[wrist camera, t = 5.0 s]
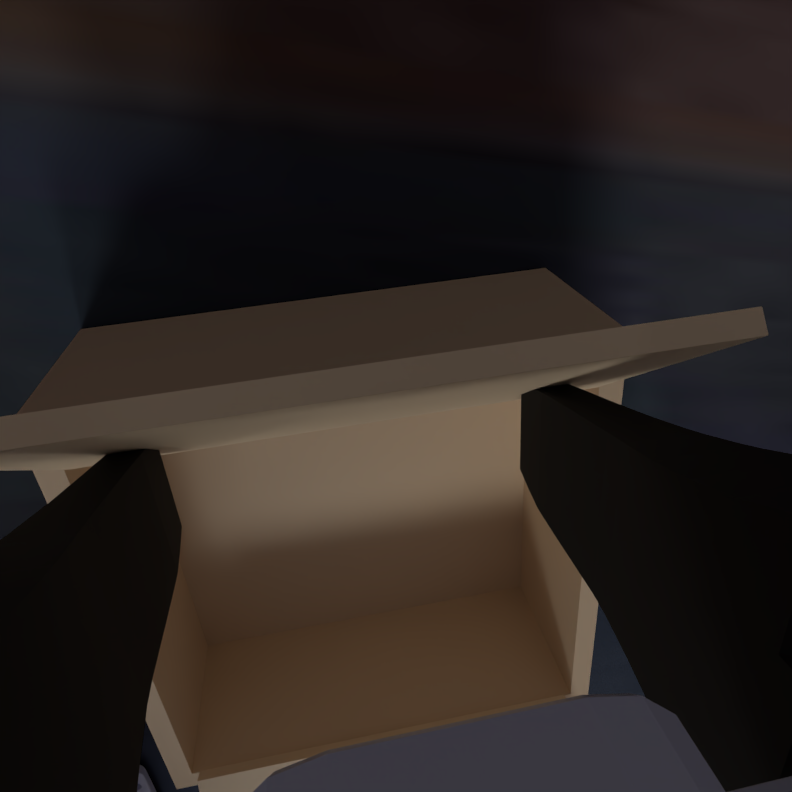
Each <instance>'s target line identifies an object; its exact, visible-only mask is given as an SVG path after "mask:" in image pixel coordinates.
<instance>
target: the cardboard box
mask: <svg viewBox="0 0 792 792" xmlns="http://www.w3.org/2000/svg"><path fill="white" fill-rule="evenodd" d="M617 327H623V326H621V325H620V324H619V323H617V322H616V321H615V320H614V319H612V318H611V317H610V316H608V315H607V314H606V313H604V312H603V311H602V310H600V309H599V308H598V307H596V306H595V305H594V304H592V303H591V302H590V301H589V300H587V299H586V298H585V297H583V296H582V295H581V294H579V293H578V292H577V291H575V290H574V289H573V288H571V287H570V286H569V285H567V284H566V283H565V282H563V281H562V280H561V279H560V278H558V277H557V276H556V275H554V274H553V273H552V272H550V271H549V270H548V269H546V268H540V269H532V270H525V271H517V272H510V273H502V274H495V275H487V276H479V277H472V278H464V279H457V280H449V281H442V282H434V283H426V284H419V285H411V286H404V287H396V288H388V289H381V290H373V291H366V292H358V293H351V294H343V295H335V296H328V297H320V298H313V299H305V300H298V301H290V302H282V303H275V304H267V305H260V306H252V307H244V308H237V309H229V310H222V311H214V312H207V313H199V314H191V315H184V316H176V317H169V318H161V319H153V320H146V321H138V322H131V323H123V324H116V325H108V326H100V327H93V328H85V329H81V330H80V331H79V332H78V333H77V335H76V336H75V337H74V339H73V340H72V341H71V343H70V344H69V345H68V347H67V348H66V349H65V351H64V352H63V353H62V355H61V356H60V357H59V359H58V360H57V361H56V363H55V364H54V365H53V367H52V368H51V369H50V371H49V372H48V373H47V375H46V376H45V377H44V378H43V380H42V381H41V382H40V384H39V385H38V386H37V388H36V389H35V390H34V392H33V393H32V394H31V396H30V397H29V398H28V400H27V401H26V402H25V404H24V405H23V406H22V408H21V409H20V410H19V412H18V413H17V414H22V413H29V412H36V411H43V410H50V409H57V408H64V407H71V406H78V405H85V404H92V403H98V402H105V401H112V400H119V399H126V398H133V397H140V396H147V395H154V394H161V393H168V392H174V391H181V390H188V389H195V388H202V387H209V386H216V385H223V384H230V383H237V382H244V381H251V380H257V379H264V378H271V377H278V376H285V375H292V374H299V373H306V372H313V371H320V370H327V369H333V368H340V367H347V366H354V365H361V364H368V363H375V362H382V361H389V360H396V359H403V358H409V357H416V356H423V355H430V354H437V353H444V352H451V351H458V350H465V349H472V348H479V347H485V346H492V345H499V344H506V343H513V342H520V341H527V340H534V339H541V338H548V337H555V336H561V335H568V334H575V333H582V332H589V331H596V330H603V329H610V328H617ZM623 385H624V379H623V380H620V381H617V382H613V383H610V384H607V385H603V386H600V387H597V388H591V389H585V391H588V392H590V393H593V394H595V395H597V396H600V397H602V398H605V399H607V400H610V401H612V402H615V403H617V404H620V405H621V402H622V393H623ZM520 436H521V399H520V400H514V401H508V402H501V403H495V404H488V405H482V406H475V407H469V408H463V409H456V410H450V411H443V412H437V413H430V414H424V415H417V416H411V417H405V418H398V419H392V420H385V421H379V422H372V423H366V424H359V425H353V426H347V427H340V428H334V429H327V430H321V431H314V432H308V433H301V434H295V435H289V436H282V437H276V438H269V439H263V440H256V441H250V442H243V443H237V444H231V445H224V446H218V447H211V448H205V449H198V450H192V451H186V452H179V453H173V454H166V455H161V458H162V461H163V464H164V468H165V471H166V474H167V478H168V481H169V484H170V488H171V491H172V494H173V498H174V501H175V505H176V508H177V511H178V515H179V518H180V521H181V525H182V532H181V546H180V557H179V567H178V574H177V579H176V583H175V588H174V592H173V596H172V600H171V605H170V609H169V613H168V617H167V621H166V625H165V629H164V634H163V638H162V642H161V646H160V650H159V654H158V658H157V662H156V667H155V671H154V675H153V679H152V684H151V689H150V694H149V699H148V704H147V712H146V719H145V720H146V722H147V725H148V727H149V729H150V731H151V734H152V736H153V738H154V740H155V742H156V745H157V747H158V749H159V751H160V753H161V756H162V758H163V760H164V762H165V764H166V767H167V769H168V771H169V773H170V776H171V778H172V780H173V782H174V784H175V787H176V789H180V788H185V787H190V786H195V785H198V782H197V781H198V777H199V773H200V771H202V770H207V769H212V768H217V767H222V766H226V765H231V764H236V763H241V762H245V761H250V760H255V759H260V758H264V757H269V756H274V755H279V754H283V753H288V752H293V751H298V750H302V749H307V748H312V747H317V746H321V745H326V744H331V743H336V742H340V741H345V740H350V739H355V738H359V737H364V736H369V735H374V734H378V733H383V732H388V731H393V730H397V729H402V728H407V727H412V726H416V725H421V724H426V723H431V722H435V721H440V720H445V719H450V718H454V717H459V716H464V715H469V714H473V713H478V712H483V711H488V710H492V709H497V708H502V707H507V706H511V705H516V704H521V703H526V702H530V701H535V700H540V699H545V698H549V697H554V696H559V695H564V696H565V698H570V697H574V696H579V695H588V689H589V680H590V671H591V663H592V654H593V645H594V637H595V628H596V619H597V611H598V601H597V600H596V598H595V596H594V595H593V593H592V591H591V590H590V588H589V587H588V585H587V584H586V582H585V581H584V579H583V578H582V576H581V575H580V573H579V572H578V570H577V569H576V567H575V565H574V564H573V562H572V561H571V559H570V558H569V556H568V555H567V553H566V552H565V550H564V549H563V547H562V546H561V544H560V543H559V541H558V540H557V538H556V536H555V535H554V533H553V532H552V530H551V529H550V527H549V526H548V524H547V522H546V521H545V519H544V518H543V516H542V514H541V513H540V511H539V510H538V508H537V506H536V504H535V502H534V500H533V497H532V495H531V493H530V491H529V489H528V487H527V484H526V482H525V480H524V477H523V475H522V473H521V470H520ZM91 467H92V466H89V467H82V468H76V469H70V470H33V473H34V475H35V477H36V479H37V481H38V484H39V486H40V488H41V490H42V492H43V495H44V497H45V499H46V501H47V504H48V503H49V502H51V501H52V500H53V499H54V498H55V497H57V496H58V495H59V494H60V493H61V492H62V491H64V490H65V489H66V488H67V487H68V486H70V485H71V484H72V483H73V482H74V481H76V480H77V479H78V478H79V477H80V476H81V475H83V474H84V473H85V472H86V471H87V470H89V469H90V468H91Z"/></svg>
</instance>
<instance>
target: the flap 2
mask: <svg viewBox="0 0 792 792" xmlns="http://www.w3.org/2000/svg"><path fill="white" fill-rule="evenodd" d="M561 699H565V696H564V695H559V696H554V697H549V698H545V699H540V700H535V701H530V702H526V703H521V704H516V705H511V706H507V707H502V708H497V709H492V710H488V711H483V712H478V713H473V714H469V715H464V716H459V717H454V718H450V719H445V720H440V721H435V722H431V723H426V724H421V725H416V726H412V727H407V728H402V729H397V730H393V731H388V732H383V733H378V734H374V735H369V736H364V737H359V738H355V739H350V740H345V741H340V742H336V743H331V744H326V745H321V746H317V747H312V748H307V749H302V750H298V751H293V752H288V753H283V754H279V755H274V756H269V757H264V758H260V759H255V760H250V761H245V762H241V763H236V764H231V765H226V766H222V767H217V768H212V769H207V770H202V771H200V773H199V777H198V781H197V782H198V787H199V792H253V791H254V790H255V789H256V788H257V787H258V786H259V785H260V784H261V783H262V782H263V781H264V780H265V779H266V778H268V777H269V776H270V775H271V774H272V773H273V772H274V771H277V770H279V769H282V768H284V767H287V766H289V765H292V764H294V763H297V762H299V761H302V760H304V759H307V758H309V757H312V756H314V755H317V754H319V753H322V752H324V751H327V750H330V749H335V748H340V747H344V746H349V745H353V744H358V743H363V742H367V741H372V740H376V739H381V738H386V737H390V736H395V735H399V734H404V733H409V732H413V731H418V730H422V729H427V728H432V727H436V726H441V725H445V724H450V723H455V722H459V721H464V720H468V719H473V718H478V717H482V716H487V715H491V714H496V713H501V712H505V711H510V710H514V709H519V708H524V707H528V706H533V705H538V704H542V703H547V702H551V701H556V700H561Z"/></svg>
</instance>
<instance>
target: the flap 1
mask: <svg viewBox="0 0 792 792" xmlns="http://www.w3.org/2000/svg"><path fill="white" fill-rule="evenodd" d="M765 336H768V331H767V326H766V322H765V317H764V313H763V309H762V307H755V308H748V309H741V310H734V311H727V312H720V313H714V314H707V315H700V316H693V317H686V318H679V319H672V320H665V321H658V322H651V323H644V324H638V325H631V326H624V327H617V328H610V329H603V330H596V331H589V332H582V333H575V334H568V335H561V336H555V337H548V338H541V339H534V340H527V341H520V342H513V343H506V344H499V345H492V346H485V347H479V348H472V349H465V350H458V351H451V352H444V353H437V354H430V355H423V356H416V357H409V358H403V359H396V360H389V361H382V362H375V363H368V364H361V365H354V366H347V367H340V368H333V369H327V370H320V371H313V372H306V373H299V374H292V375H285V376H278V377H271V378H264V379H257V380H251V381H244V382H237V383H230V384H223V385H216V386H209V387H202V388H195V389H188V390H181V391H174V392H168V393H161V394H154V395H147V396H140V397H133V398H126V399H119V400H112V401H105V402H98V403H92V404H85V405H78V406H71V407H64V408H57V409H50V410H43V411H36V412H29V413H22V414H16V415H9V416H2V417H0V471H7V470H70V469H76V468H82V467H89V466H93V465H94V464H96V463H97V462H98V461H99V460H100V459H102V458H103V457H104V456H105V455H106V454H113V453H120V452H126V451H133V450H139V449H155V450H159V451H160V454H161V455H166V454H173V453H179V452H186V451H192V450H198V449H205V448H211V447H218V446H224V445H231V444H237V443H243V442H250V441H256V440H263V439H269V438H276V437H282V436H289V435H295V434H301V433H308V432H314V431H321V430H327V429H334V428H340V427H347V426H353V425H359V424H366V423H372V422H379V421H385V420H392V419H398V418H405V417H411V416H417V415H424V414H430V413H437V412H443V411H450V410H456V409H463V408H469V407H475V406H482V405H488V404H495V403H501V402H508V401H514V400H520V399H521V394H524V393H526V392H529V391H531V390H534V389H539V388H545V387H552V386H558V385H565V384H570V385H572V386H575V387H578V388H580V389H583V390H585V389H591V388H597V387H600V386H603V385H607V384H610V383H613V382H617V381H620V380H623V379H627V378H630V377H633V376H636V375H640V374H643V373H646V372H650V371H653V370H656V369H659V368H663V367H666V366H669V365H673V364H676V363H679V362H682V361H686V360H689V359H692V358H696V357H699V356H702V355H705V354H709V353H712V352H715V351H719V350H722V349H725V348H728V347H732V346H735V345H738V344H742V343H745V342H748V341H751V340H755V339H758V338H761V337H765Z"/></svg>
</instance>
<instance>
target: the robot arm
mask: <svg viewBox="0 0 792 792" xmlns="http://www.w3.org/2000/svg"><path fill="white" fill-rule="evenodd" d="M520 470H521V473H522V475H523V477H524V480H525V482H526V484H527V487H528V489H529V491H530V493H531V495H532V497H533V500H534V502H535V504H536V506H537V508H538V510H539V511H540V513H541V514H542V516H543V518H544V519H545V521H546V522H547V524H548V526H549V527H550V529H551V530H552V532H553V533H554V535H555V536H556V538H557V540H558V541H559V543H560V544H561V546H562V547H563V549H564V550H565V552H566V553H567V555H568V556H569V558H570V559H571V561H572V562H573V564H574V565H575V567H576V569H577V570H578V572H579V573H580V575H581V576H582V578H583V579H584V581H585V582H586V584H587V585H588V587H589V588H590V590H591V591H592V593H593V595H594V596H595V598H596V600H597V601H598V603H599V605H600V606H601V608H602V610H603V612H604V613H605V615H606V617H607V619H608V621H609V623H610V625H611V627H612V629H613V631H614V633H615V635H616V637H617V639H618V641H619V643H620V645H621V647H622V649H623V651H624V653H625V655H626V657H627V659H628V661H629V663H630V665H631V667H632V669H633V671H634V673H635V675H636V678H637V680H638V682H639V684H640V686H641V688H642V690H643V692H644V694H645V697H646V698H645V697H643V696H641V695H635V694H596V695H579V696H574V697H570V698H565V699H561V700H556V701H551V702H547V703H542V704H538V705H533V706H528V707H524V708H519V709H514V710H510V711H505V712H501V713H496V714H491V715H487V716H482V717H478V718H473V719H468V720H464V721H459V722H455V723H450V724H445V725H441V726H436V727H432V728H427V729H422V730H418V731H413V732H409V733H404V734H399V735H395V736H390V737H386V738H381V739H376V740H372V741H367V742H363V743H358V744H353V745H349V746H344V747H340V748H335V749H330V750H327V751H324V752H322V753H319V754H317V755H314V756H312V757H309V758H307V759H304V760H302V761H299V762H297V763H294V764H292V765H289V766H287V767H284V768H282V769H279V770H277V771H274V772H273V773H272V774H271V775H270V776H269V777H268V778H266V779H265V780H264V781H263V782H262V783H261V784H260V785H259V786H258V787H257V788H256V789H255V790H254V791H253V792H792V454H788V453H783V452H777V451H772V450H767V449H762V448H757V447H753V446H748V445H744V444H740V443H736V442H732V441H728V440H724V439H721V438H717V437H713V436H709V435H705V434H702V433H699V432H695V431H692V430H689V429H686V428H683V427H680V426H677V425H674V424H671V423H668V422H665V421H662V420H659V419H656V418H653V417H651V416H648V415H645V414H643V413H640V412H637V411H635V410H632V409H630V408H627V407H625V406H622V405H620V404H617V403H615V402H612V401H610V400H607V399H605V398H602V397H600V396H597V395H595V394H593V393H590V392H588V391H585V390H583V389H580V388H578V387H575V386H572V385H570V384H565V385H558V386H552V387H545V388H539V389H534V390H531V391H529V392H526V393H524V394H521V436H520ZM181 532H182V525H181V521H180V518H179V515H178V511H177V508H176V505H175V501H174V498H173V494H172V491H171V488H170V484H169V481H168V478H167V474H166V471H165V468H164V464H163V461H162V458H161V454H160V451H159V450H155V449H139V450H133V451H126V452H120V453H113V454H106V455H105V456H104V457H103V458H102V459H100V460H99V461H98V462H97V463H96V464H94V465H93V466H92V467H91V468H90V469H89V470H87V471H86V472H85V473H84V474H83V475H81V476H80V477H79V478H78V479H77V480H76V481H74V482H73V483H72V484H71V485H70V486H68V487H67V488H66V489H65V490H64V491H62V492H61V493H60V494H59V495H58V496H57V497H55V498H54V499H53V500H52V501H51V502H49V503H48V504H47V505H46V506H44V507H43V508H42V509H40V510H39V511H38V512H36V513H35V514H34V515H33V516H31V517H30V518H29V519H27V520H26V521H25V522H24V523H22V524H21V525H20V526H18V527H17V528H16V529H15V530H13V531H12V532H11V533H9V534H8V535H7V536H5V537H4V538H3V539H1V540H0V792H156V790H155V787H154V785H153V783H152V781H151V779H150V777H149V775H148V773H147V771H146V769H145V768H144V767H143V766H142V765H140V759H141V751H142V743H143V735H144V727H145V719H146V712H147V704H148V699H149V694H150V689H151V684H152V679H153V675H154V671H155V667H156V662H157V658H158V654H159V650H160V646H161V642H162V638H163V634H164V629H165V625H166V621H167V617H168V613H169V609H170V605H171V600H172V596H173V592H174V588H175V583H176V579H177V574H178V567H179V557H180V546H181Z"/></svg>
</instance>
